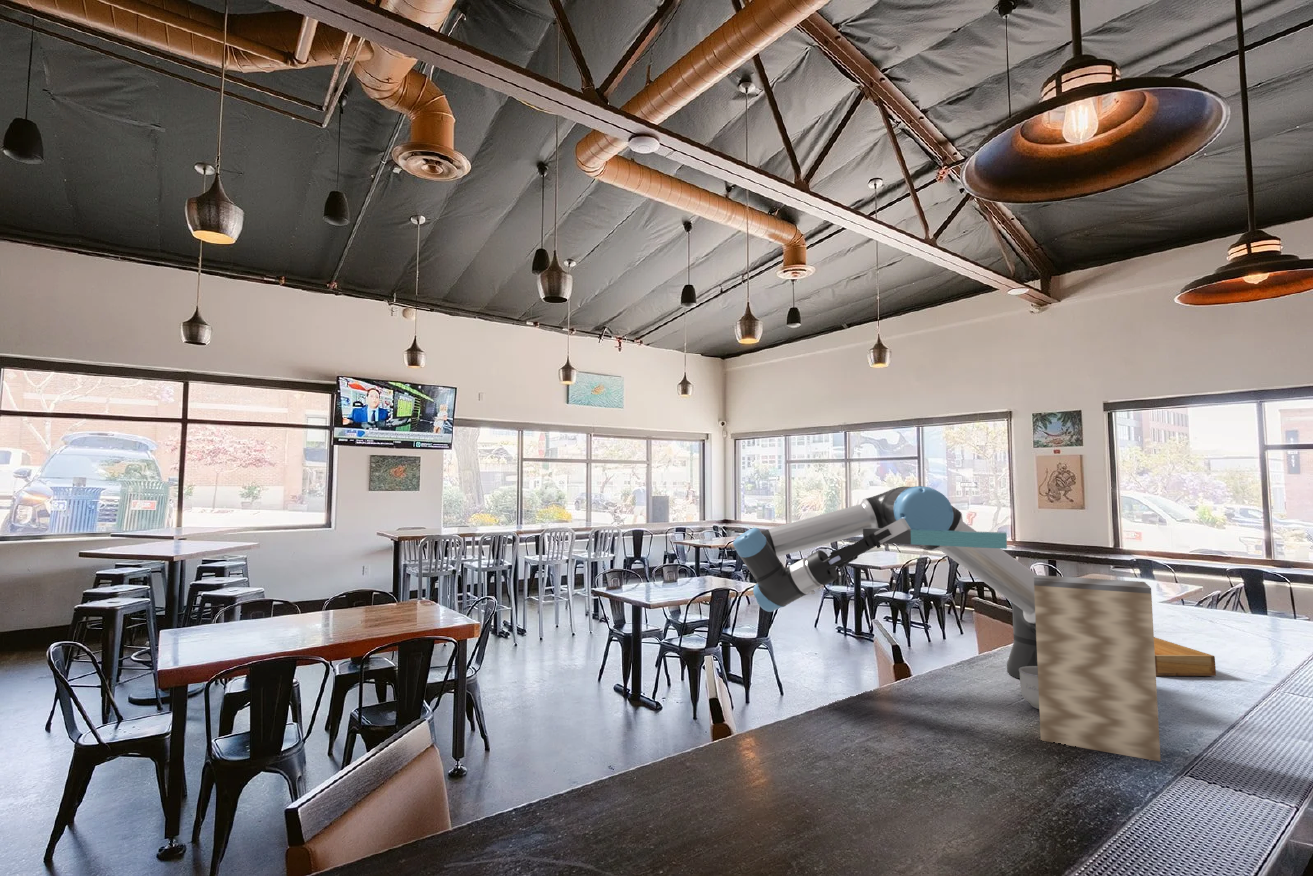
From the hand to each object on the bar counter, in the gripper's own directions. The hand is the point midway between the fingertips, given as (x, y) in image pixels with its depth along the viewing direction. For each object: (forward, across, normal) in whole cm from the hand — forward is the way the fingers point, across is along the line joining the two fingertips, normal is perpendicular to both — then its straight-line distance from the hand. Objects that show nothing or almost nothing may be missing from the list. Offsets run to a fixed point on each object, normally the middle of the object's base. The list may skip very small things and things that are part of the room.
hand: (905, 523), depth 139 cm
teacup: (+3, -17, -48) cm, 51 cm away
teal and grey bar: (+2, 0, -6) cm, 7 cm away
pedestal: (+9, 0, -51) cm, 52 cm away
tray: (+21, -73, -59) cm, 96 cm away
